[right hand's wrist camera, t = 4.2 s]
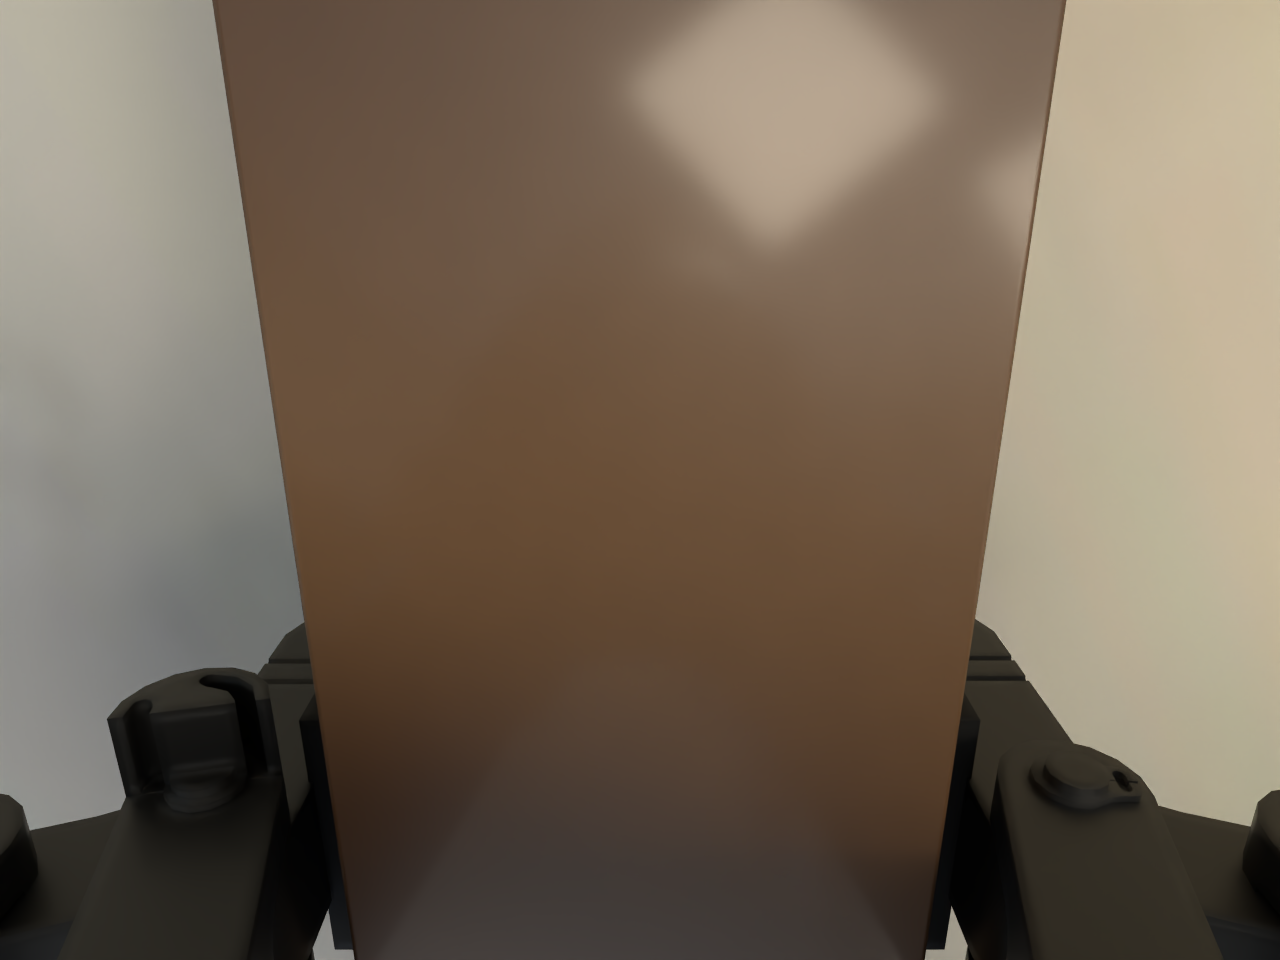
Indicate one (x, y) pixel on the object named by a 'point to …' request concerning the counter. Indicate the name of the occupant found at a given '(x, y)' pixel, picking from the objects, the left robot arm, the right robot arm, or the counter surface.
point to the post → (639, 448)
